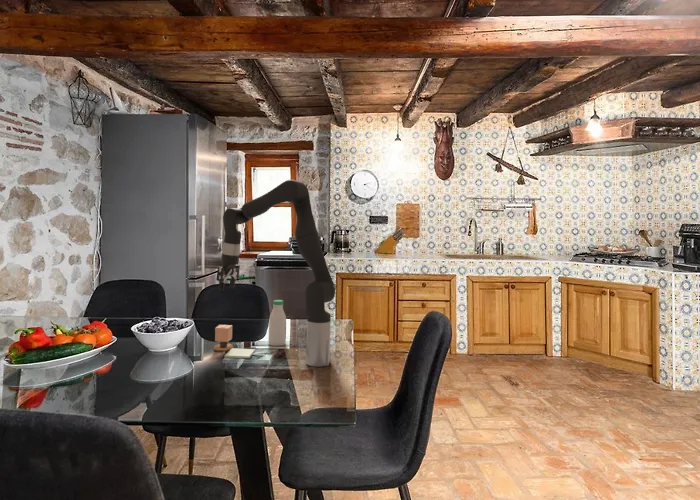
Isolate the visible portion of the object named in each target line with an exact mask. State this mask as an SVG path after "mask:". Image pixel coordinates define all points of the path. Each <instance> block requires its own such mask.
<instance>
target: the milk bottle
mask: <svg viewBox="0 0 700 500" xmlns="http://www.w3.org/2000/svg"><path fill="white" fill-rule="evenodd" d="M272 306H273V308H272V311H271V313H270V315H269V321H268V345H269V346H272V347H280V346H284V345H286V342H287V341H286V340H287V317H286V313H285V311H284V300H283V299H275V300H273V301H272Z"/></svg>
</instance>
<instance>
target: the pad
mask: <svg viewBox="0 0 700 500" xmlns="http://www.w3.org/2000/svg"><path fill="white" fill-rule="evenodd" d="M255 352H256V348H239V347H238V348H237V347H233V348H232V349H231V350H230V351H227V353H225V354H224V358H231V359H232V358H233V359H234V358H235V359H250V358H251V356H252V355H253V354H254V353H255Z"/></svg>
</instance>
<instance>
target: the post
mask: <svg viewBox="0 0 700 500" xmlns="http://www.w3.org/2000/svg"><path fill="white" fill-rule="evenodd" d="M232 348H234V344H232V343H230V342H219V341H216V344H215V345H214V346H213V351H215V352H218V353H222V352H223V353H225V352H229V351H230V350H231V349H232Z"/></svg>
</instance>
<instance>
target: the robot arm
mask: <svg viewBox="0 0 700 500" xmlns="http://www.w3.org/2000/svg"><path fill="white" fill-rule="evenodd" d="M282 203H290V204H293V208H294V211H295V215H296V224H295V232H294V235H295V242H296V245H297V249H298V251H299V254H300V255H301V258H303V260H304V261H305V262H306V264H307V265H308V266H309V268H310V269H311V271H312V275H313V278H314V280H311V281H310V282H309V283H307V285H306V288H305V292H304V293H305V294H304V299H305V301H304V302H305V303H304V305H305V306H304V307H305V315H306V316H307V317H306V318H307V319H306V321H307V322H306V349H305V363H306V365H307V366H310V367H315V368H316V367H319V368H320V367H329V365H330V359H331V358H330V356H331V354H330V353H331V322H332V321H331V318H332V317H331V316H332V315H331V313H330V312H328V311H326V309H325V307H326V306H325V303H329V302H331V301H333V300H334V298H335V296H336V288H335V284H334V280H333V279H332V278H333V277H332V275H331V273H330V271H329V267H328V265H327V262H326V258H325V255H324V251H323V248H322V244H321V240H320V235H319V233H318V230H317V226H316V223H315V217H314V214H313V211H312V210H313V209H312V205H311V203H312V202H311V197H310V193H309V189H308V187H307V185H306V184H305V183H304V182H303V181H298V180H295V179H287V180H285V181H283V182H281V183H280V184H279V185H277V186H276V187H274V188H272V189H271V190H269V191H268V192H266V193H265V194H261V196H260V195H259V197H256V198H255V199H251V200H249V201H246V202H245V203H244V204H243V205H242V207H240V208H238V207H228V208H227V209H226V210H225V211H224V212H223V215H222V222H223V229H224V237H223V245H222V250H221V251H222V252H221V258H220V263H221V264H222V267H220V266H218V267H217V272H216V279H215V281H218V282H219V283H218V290H219V291H221V292H222V291H225V282H226V280H227V279H228V278H230V279H229V288H232V289H233V288H235V284H236V280H237V279H238V278H239V277H240V264H239V262H240V253H241V241H242V240H241V239H242V231H241V230H238V229H237V225H243V224H246V223H248V221H250V220H252V219H254V218H256V217H259V216H261V215H263V214H265V213H267V212H268V211H269V210H270V209H271V208H272V207H274V206H276V205H278V204H282Z"/></svg>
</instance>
